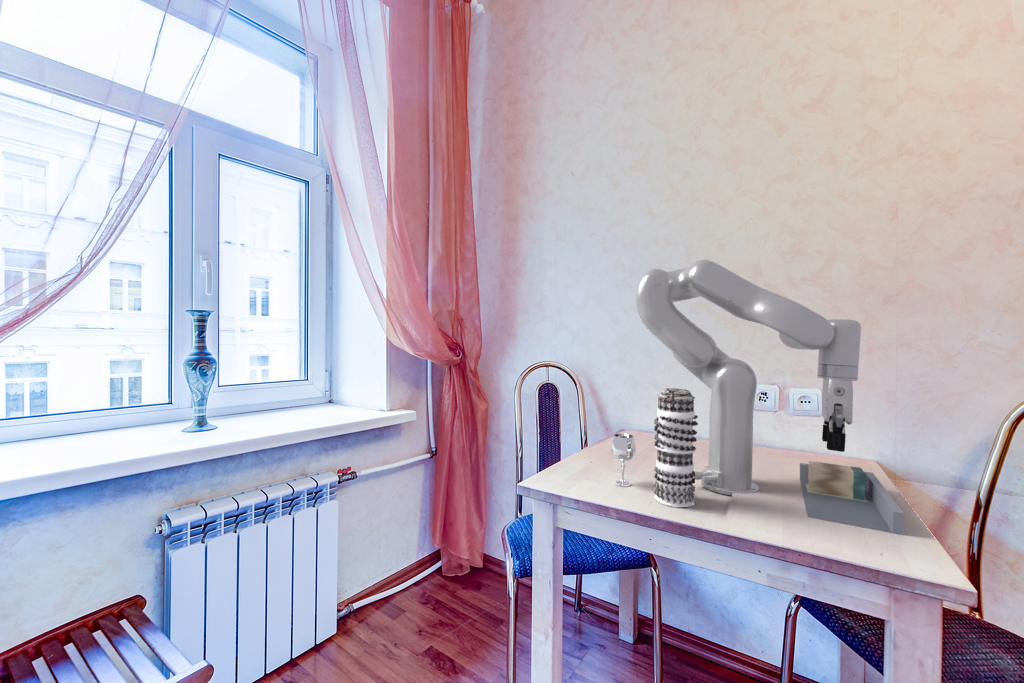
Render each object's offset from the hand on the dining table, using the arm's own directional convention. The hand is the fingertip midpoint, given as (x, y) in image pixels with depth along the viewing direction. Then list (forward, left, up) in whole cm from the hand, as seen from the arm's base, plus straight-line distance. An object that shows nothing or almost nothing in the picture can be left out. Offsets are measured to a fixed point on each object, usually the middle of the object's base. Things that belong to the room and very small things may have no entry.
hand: (832, 446), depth 100 cm
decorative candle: (-38, +2, -12) cm, 40 cm away
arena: (-3, -5, -12) cm, 13 cm away
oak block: (+1, 0, -11) cm, 11 cm away
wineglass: (-45, +14, -12) cm, 49 cm away
